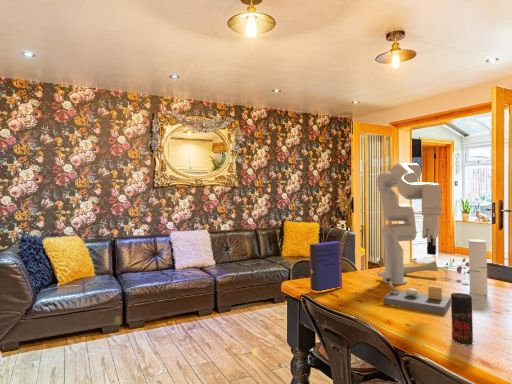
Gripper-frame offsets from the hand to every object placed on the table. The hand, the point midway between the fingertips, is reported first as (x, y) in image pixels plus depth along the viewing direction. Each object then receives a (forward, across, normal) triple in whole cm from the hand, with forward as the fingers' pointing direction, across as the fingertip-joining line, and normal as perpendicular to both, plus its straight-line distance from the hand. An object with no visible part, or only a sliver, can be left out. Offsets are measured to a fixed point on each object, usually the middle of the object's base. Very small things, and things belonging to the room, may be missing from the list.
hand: (431, 254), depth 152 cm
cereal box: (+23, +4, -48) cm, 54 cm away
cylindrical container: (+23, -32, +14) cm, 41 cm away
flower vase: (+24, -53, -10) cm, 59 cm away
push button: (+18, +3, -7) cm, 20 cm away
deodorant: (+21, +34, +16) cm, 43 cm away
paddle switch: (+19, +1, +2) cm, 19 cm away
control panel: (+22, +3, -5) cm, 23 cm away
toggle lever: (+18, +3, -15) cm, 24 cm away
